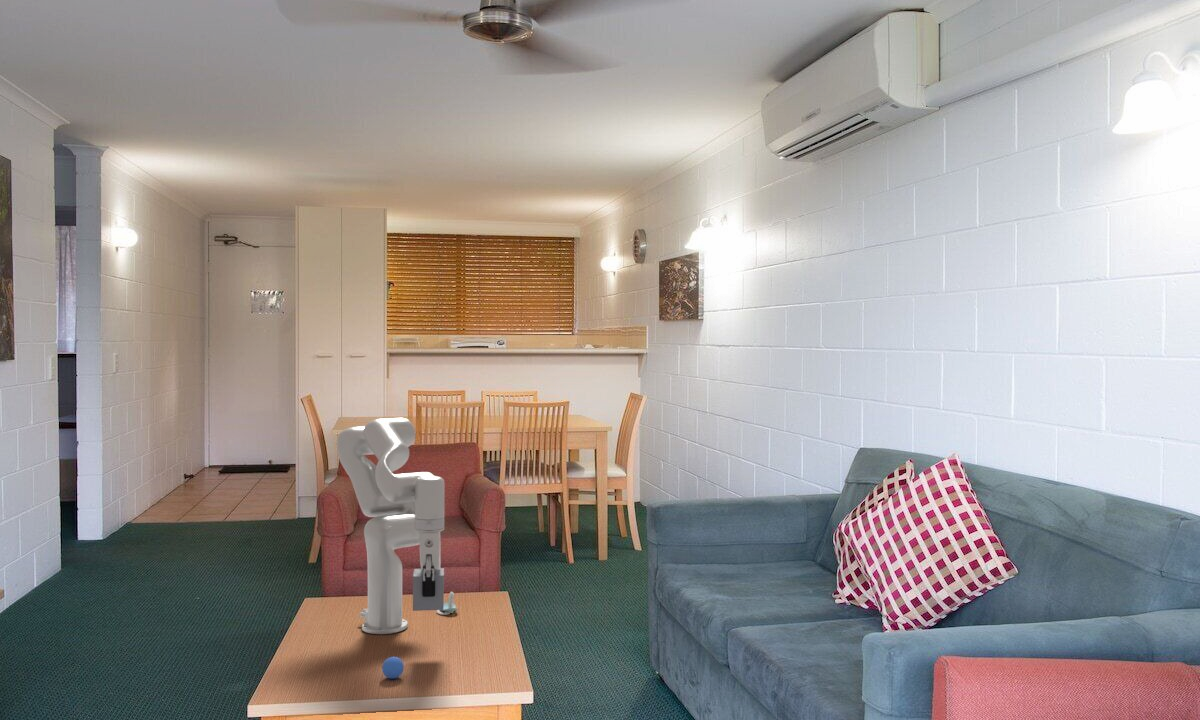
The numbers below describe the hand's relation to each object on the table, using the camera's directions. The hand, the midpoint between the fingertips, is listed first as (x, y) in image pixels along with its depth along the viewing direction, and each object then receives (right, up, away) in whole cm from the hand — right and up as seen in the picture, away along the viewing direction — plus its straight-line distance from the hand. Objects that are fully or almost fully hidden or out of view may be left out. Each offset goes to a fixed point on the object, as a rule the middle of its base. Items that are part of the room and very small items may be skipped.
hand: (429, 591), depth 239 cm
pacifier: (-1, -16, +37) cm, 40 cm away
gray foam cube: (0, -4, 0) cm, 4 cm away
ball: (-5, -13, -19) cm, 24 cm away
